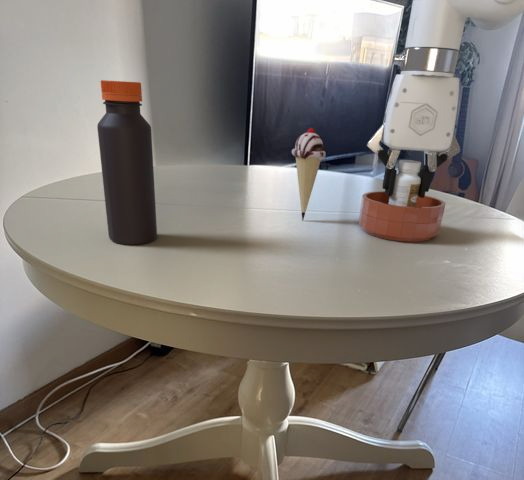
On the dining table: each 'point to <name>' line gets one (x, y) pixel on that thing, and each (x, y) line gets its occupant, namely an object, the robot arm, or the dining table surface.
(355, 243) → the dining table surface
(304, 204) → the ice cream cone
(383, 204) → the bowl
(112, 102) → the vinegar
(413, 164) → the pill bottle
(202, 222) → the dining table surface
